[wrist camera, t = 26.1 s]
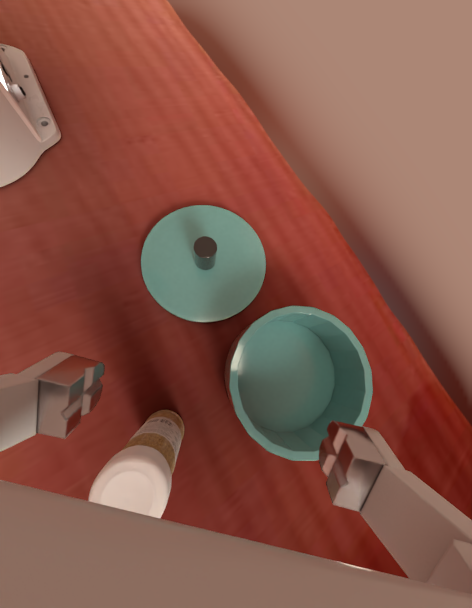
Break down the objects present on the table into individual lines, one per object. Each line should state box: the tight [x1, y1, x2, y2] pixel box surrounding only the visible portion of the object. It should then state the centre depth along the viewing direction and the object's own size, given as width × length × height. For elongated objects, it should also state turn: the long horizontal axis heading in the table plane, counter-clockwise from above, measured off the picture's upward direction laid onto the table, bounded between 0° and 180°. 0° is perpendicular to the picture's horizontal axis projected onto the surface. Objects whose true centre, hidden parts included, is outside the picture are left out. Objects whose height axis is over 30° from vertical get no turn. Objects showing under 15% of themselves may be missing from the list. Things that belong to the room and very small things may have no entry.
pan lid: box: [141, 205, 266, 323], centre depth 29 cm, size 16×16×5 cm
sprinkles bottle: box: [88, 410, 184, 518], centre depth 21 cm, size 5×5×14 cm
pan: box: [224, 306, 373, 461], centre depth 27 cm, size 15×15×6 cm
